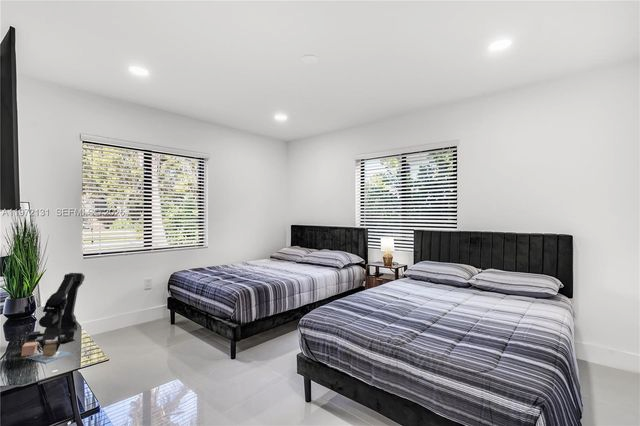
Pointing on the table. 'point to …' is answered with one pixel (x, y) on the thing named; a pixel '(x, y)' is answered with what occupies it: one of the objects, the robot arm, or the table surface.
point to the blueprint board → (48, 356)
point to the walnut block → (50, 348)
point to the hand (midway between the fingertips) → (50, 351)
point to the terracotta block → (29, 348)
